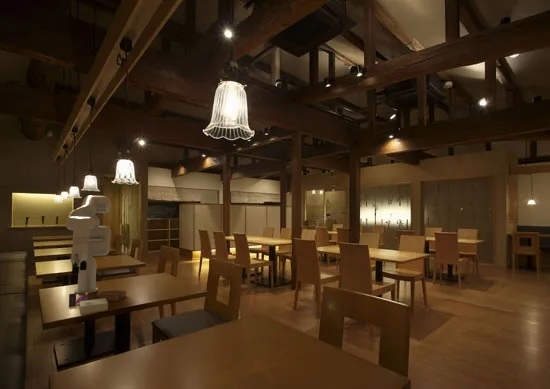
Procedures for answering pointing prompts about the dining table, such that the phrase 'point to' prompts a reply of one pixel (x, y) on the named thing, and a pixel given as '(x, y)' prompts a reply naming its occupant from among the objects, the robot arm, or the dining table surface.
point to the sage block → (93, 305)
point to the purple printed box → (73, 299)
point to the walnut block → (111, 295)
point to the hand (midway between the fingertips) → (79, 271)
